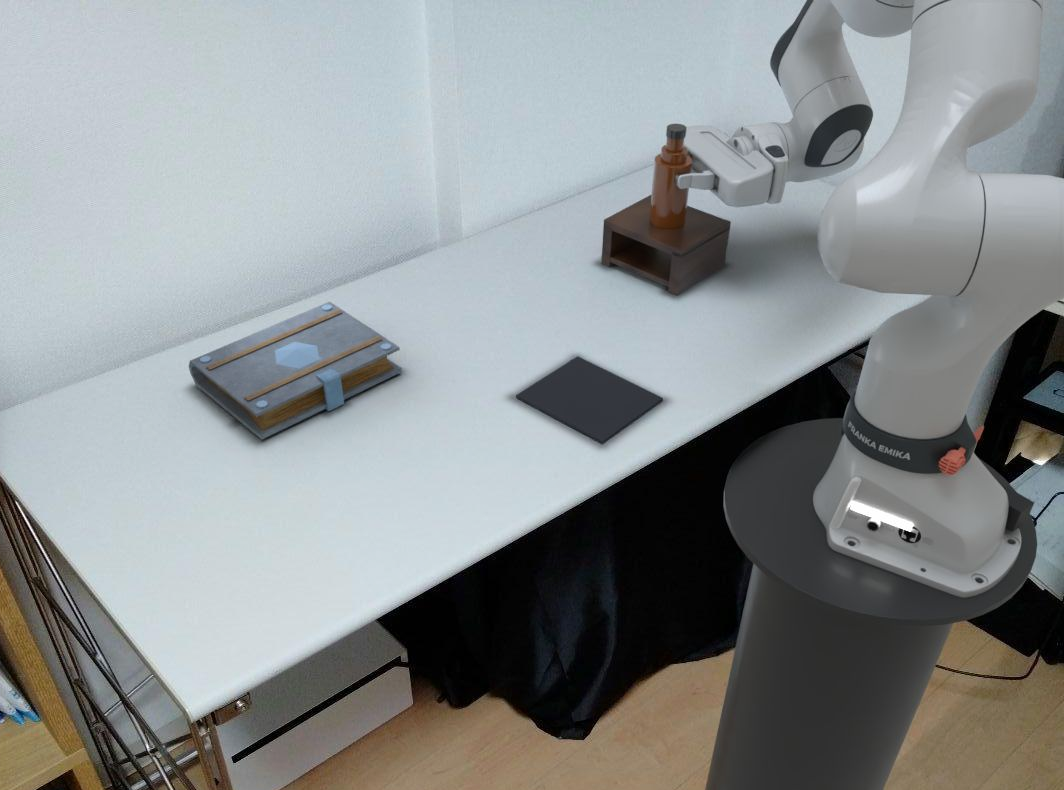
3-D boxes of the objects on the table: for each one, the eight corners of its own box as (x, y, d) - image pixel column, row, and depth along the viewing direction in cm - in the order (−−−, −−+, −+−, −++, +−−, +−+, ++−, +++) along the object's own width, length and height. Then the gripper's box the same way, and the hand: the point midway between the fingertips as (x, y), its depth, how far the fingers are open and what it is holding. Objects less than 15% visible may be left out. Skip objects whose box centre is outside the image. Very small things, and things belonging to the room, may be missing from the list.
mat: (662, 400, 130) (663, 398, 129) (602, 444, 123) (602, 441, 123) (577, 358, 136) (577, 356, 136) (515, 397, 130) (515, 395, 130)
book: (329, 325, 142) (325, 293, 139) (403, 375, 133) (400, 342, 130) (193, 385, 132) (184, 351, 128) (264, 444, 123) (256, 409, 120)
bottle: (692, 219, 150) (703, 126, 141) (671, 232, 147) (680, 138, 138) (663, 209, 153) (672, 116, 144) (642, 221, 150) (649, 127, 141)
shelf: (724, 265, 155) (731, 221, 150) (676, 295, 148) (682, 250, 143) (649, 235, 162) (653, 192, 157) (601, 263, 155) (603, 219, 150)
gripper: (722, 109, 153) (637, 122, 150) (794, 163, 139) (702, 178, 136) (716, 151, 158) (634, 164, 154) (786, 208, 144) (697, 224, 140)
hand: (666, 171), depth 145 cm, fingers closed on bottle, 5 cm apart
